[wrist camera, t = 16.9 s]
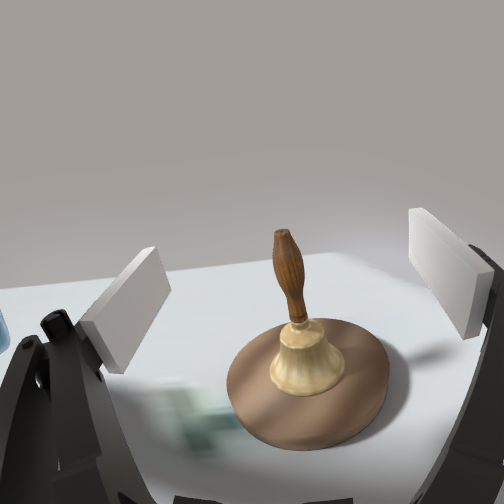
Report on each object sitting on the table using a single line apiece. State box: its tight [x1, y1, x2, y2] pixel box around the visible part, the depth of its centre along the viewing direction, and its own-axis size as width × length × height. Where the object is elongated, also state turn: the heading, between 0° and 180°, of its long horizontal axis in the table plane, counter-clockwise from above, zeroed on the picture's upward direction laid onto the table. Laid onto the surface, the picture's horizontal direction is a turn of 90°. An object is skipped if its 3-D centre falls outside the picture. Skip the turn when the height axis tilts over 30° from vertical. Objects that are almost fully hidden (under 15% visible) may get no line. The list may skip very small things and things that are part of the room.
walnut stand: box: [227, 318, 389, 451], centre depth 32 cm, size 18×18×3 cm
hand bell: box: [270, 229, 345, 396], centre depth 28 cm, size 8×8×16 cm
